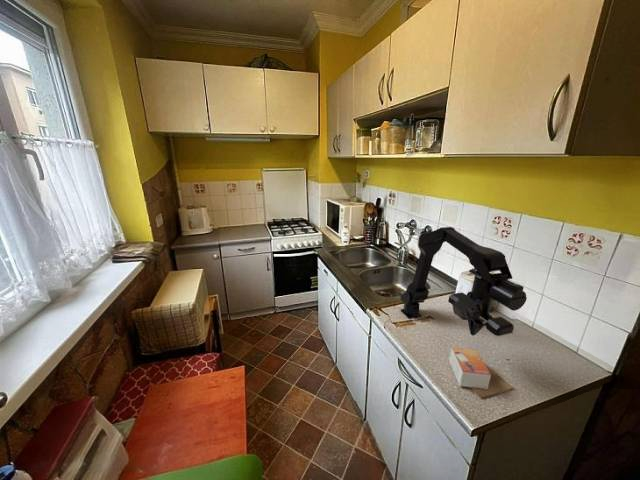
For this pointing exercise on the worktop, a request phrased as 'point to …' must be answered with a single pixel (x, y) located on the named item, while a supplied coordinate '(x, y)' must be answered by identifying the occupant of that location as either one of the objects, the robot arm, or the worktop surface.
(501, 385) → the brown coaster
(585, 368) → the worktop surface
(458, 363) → the small box
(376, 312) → the worktop surface
